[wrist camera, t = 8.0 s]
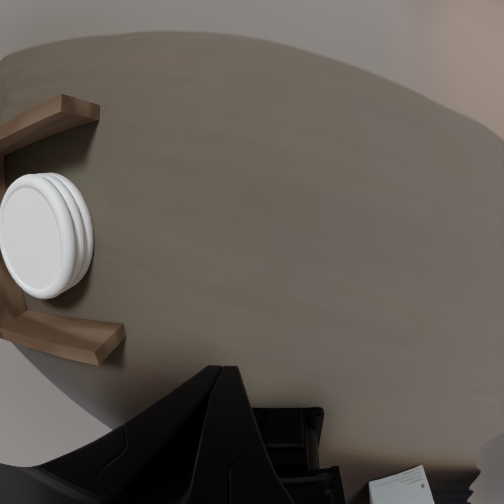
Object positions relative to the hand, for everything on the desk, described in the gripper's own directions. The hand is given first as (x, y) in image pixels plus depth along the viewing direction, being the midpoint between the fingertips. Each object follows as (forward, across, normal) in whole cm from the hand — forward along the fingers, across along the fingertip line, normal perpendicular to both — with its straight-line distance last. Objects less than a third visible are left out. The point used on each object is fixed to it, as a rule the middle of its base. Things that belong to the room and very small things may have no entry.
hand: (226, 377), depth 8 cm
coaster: (+12, +17, -4) cm, 21 cm away
